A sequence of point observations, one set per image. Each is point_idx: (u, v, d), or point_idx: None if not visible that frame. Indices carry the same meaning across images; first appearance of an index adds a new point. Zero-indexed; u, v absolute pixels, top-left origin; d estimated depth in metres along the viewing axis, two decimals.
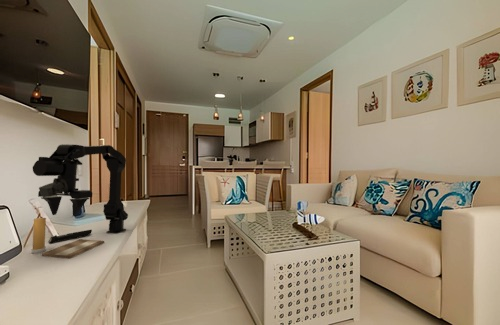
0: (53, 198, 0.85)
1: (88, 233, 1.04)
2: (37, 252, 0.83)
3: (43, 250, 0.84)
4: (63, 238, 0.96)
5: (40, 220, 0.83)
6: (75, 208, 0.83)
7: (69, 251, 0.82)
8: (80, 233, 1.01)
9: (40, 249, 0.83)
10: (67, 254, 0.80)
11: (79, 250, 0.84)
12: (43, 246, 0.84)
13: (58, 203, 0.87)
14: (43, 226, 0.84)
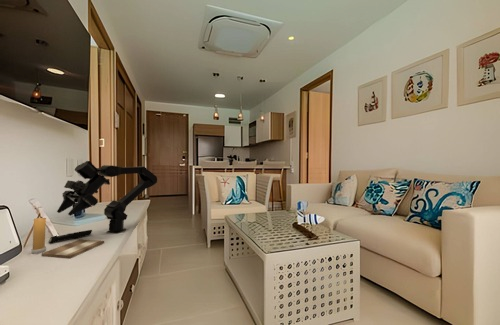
0: (69, 199, 0.97)
1: (88, 233, 1.04)
2: (37, 252, 0.83)
3: (43, 250, 0.84)
4: (63, 238, 0.96)
5: (40, 220, 0.83)
6: (75, 207, 0.90)
7: (69, 251, 0.82)
8: (80, 233, 1.01)
9: (40, 249, 0.83)
10: (67, 254, 0.80)
11: (79, 250, 0.84)
12: (43, 246, 0.84)
13: (68, 206, 0.97)
14: (43, 226, 0.84)
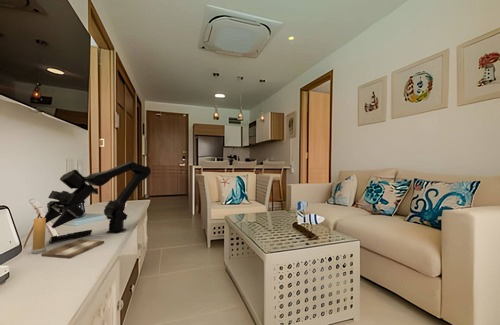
0: (54, 210, 0.92)
1: (88, 233, 1.04)
2: (37, 252, 0.83)
3: (43, 250, 0.84)
4: (63, 238, 0.96)
5: (40, 220, 0.83)
6: (59, 220, 0.85)
7: (69, 251, 0.82)
8: (80, 233, 1.01)
9: (40, 249, 0.83)
10: (67, 254, 0.80)
11: (79, 250, 0.84)
12: (43, 246, 0.84)
13: (53, 217, 0.92)
14: (43, 226, 0.84)
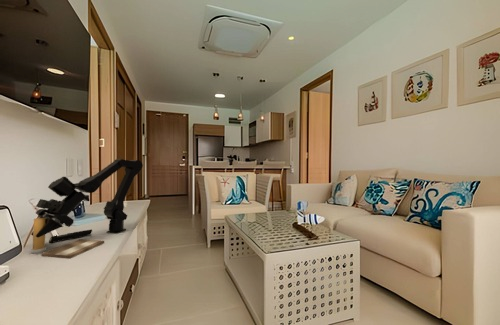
0: (46, 220, 0.88)
1: (88, 233, 1.04)
2: (37, 252, 0.83)
3: (43, 250, 0.84)
4: (63, 238, 0.97)
5: (40, 220, 0.83)
6: (43, 228, 0.83)
7: (69, 251, 0.82)
8: (80, 233, 1.02)
9: (40, 249, 0.83)
10: (67, 254, 0.80)
11: (79, 250, 0.84)
12: (43, 246, 0.84)
13: None
14: (43, 226, 0.84)
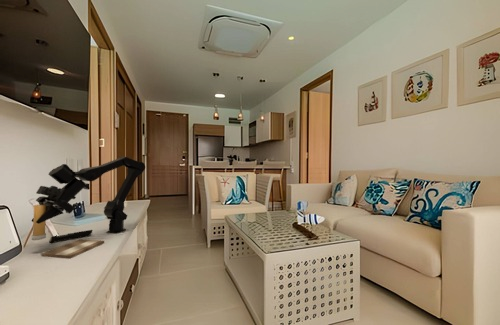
0: (46, 207, 0.88)
1: (88, 233, 1.04)
2: (37, 238, 0.83)
3: (43, 236, 0.84)
4: (63, 238, 0.96)
5: (40, 206, 0.83)
6: (44, 215, 0.83)
7: (69, 251, 0.82)
8: (80, 233, 1.01)
9: (41, 235, 0.83)
10: (67, 254, 0.80)
11: (79, 250, 0.84)
12: (43, 232, 0.84)
13: None
14: None
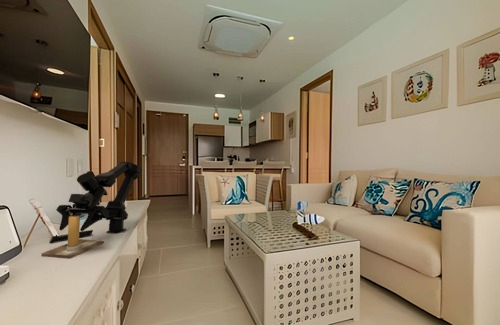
0: (69, 215, 0.88)
1: (89, 233, 1.03)
2: (75, 249, 0.84)
3: (79, 247, 0.85)
4: (63, 238, 0.97)
5: (77, 217, 0.84)
6: (87, 222, 0.85)
7: None
8: (81, 233, 1.01)
9: (78, 246, 0.85)
10: (67, 254, 0.80)
11: (79, 250, 0.84)
12: (78, 243, 0.86)
13: (68, 222, 0.87)
14: (79, 223, 0.86)
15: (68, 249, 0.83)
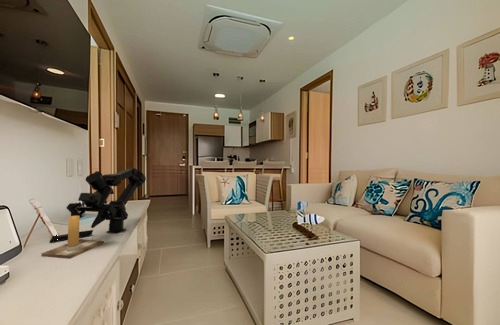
0: (77, 212, 0.93)
1: (89, 233, 1.03)
2: (75, 249, 0.84)
3: (79, 247, 0.85)
4: (63, 238, 0.97)
5: (77, 217, 0.84)
6: (97, 219, 0.90)
7: None
8: (81, 233, 1.01)
9: (78, 246, 0.85)
10: (67, 254, 0.80)
11: (79, 250, 0.84)
12: (78, 243, 0.86)
13: None
14: (78, 223, 0.85)
15: (68, 249, 0.83)
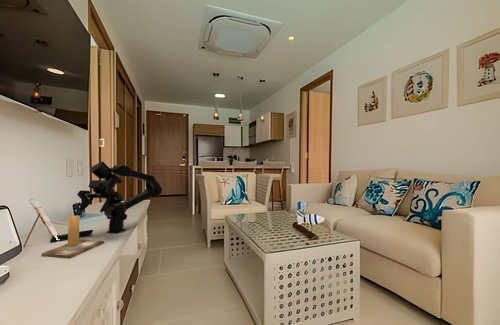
0: (87, 199, 1.00)
1: (89, 233, 1.04)
2: (75, 249, 0.84)
3: (79, 247, 0.85)
4: (63, 237, 0.97)
5: (77, 217, 0.84)
6: (105, 205, 0.97)
7: None
8: (81, 233, 1.02)
9: (78, 246, 0.85)
10: (67, 254, 0.80)
11: (79, 250, 0.84)
12: (78, 243, 0.86)
13: (86, 205, 1.00)
14: (79, 222, 0.85)
15: (68, 249, 0.83)
